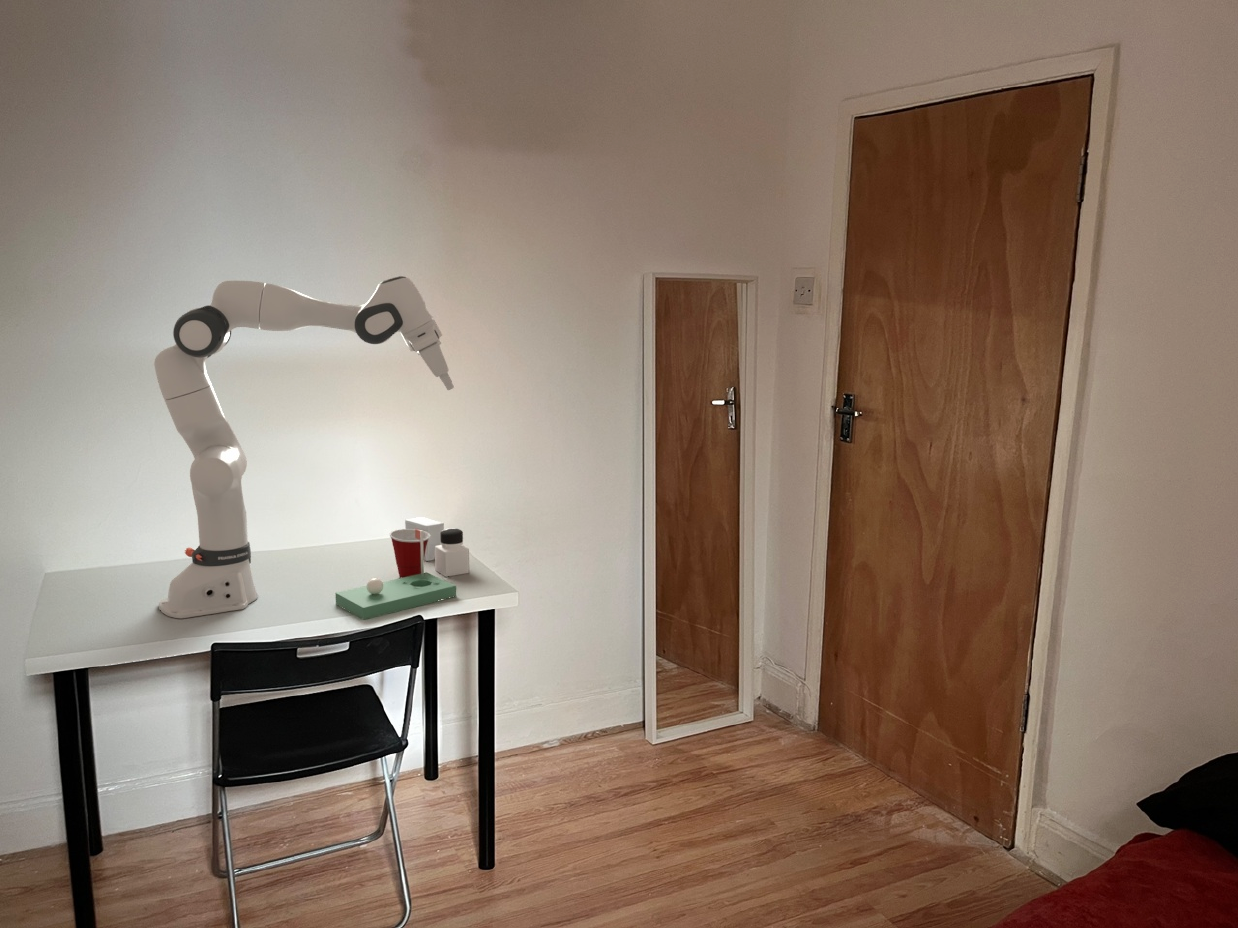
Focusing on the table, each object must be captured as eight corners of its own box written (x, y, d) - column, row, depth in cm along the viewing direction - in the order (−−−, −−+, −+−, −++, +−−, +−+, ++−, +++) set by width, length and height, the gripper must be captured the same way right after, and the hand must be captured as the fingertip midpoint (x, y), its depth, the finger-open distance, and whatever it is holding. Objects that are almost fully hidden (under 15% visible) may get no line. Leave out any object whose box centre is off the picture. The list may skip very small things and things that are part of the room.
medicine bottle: (469, 573, 266) (469, 531, 264) (445, 577, 262) (444, 534, 260) (458, 566, 272) (458, 525, 270) (434, 570, 268) (434, 528, 266)
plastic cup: (421, 583, 256) (420, 540, 254) (383, 580, 258) (382, 537, 256) (437, 571, 267) (436, 529, 264) (400, 568, 269) (399, 526, 267)
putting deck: (363, 619, 230) (361, 558, 227) (332, 602, 241) (330, 544, 238) (456, 596, 247) (455, 540, 244) (423, 581, 258) (422, 527, 255)
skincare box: (445, 557, 280) (444, 522, 278) (427, 561, 276) (426, 526, 274) (422, 549, 287) (422, 515, 285) (404, 554, 282) (404, 519, 280)
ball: (371, 597, 236) (371, 582, 235) (363, 593, 239) (363, 578, 238) (386, 594, 239) (386, 578, 238) (378, 590, 241) (377, 574, 241)
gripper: (411, 339, 249) (437, 386, 253) (412, 346, 230) (440, 397, 234) (433, 328, 250) (459, 375, 254) (436, 334, 230) (463, 385, 234)
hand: (450, 386), depth 244 cm, fingers open, 8 cm apart
